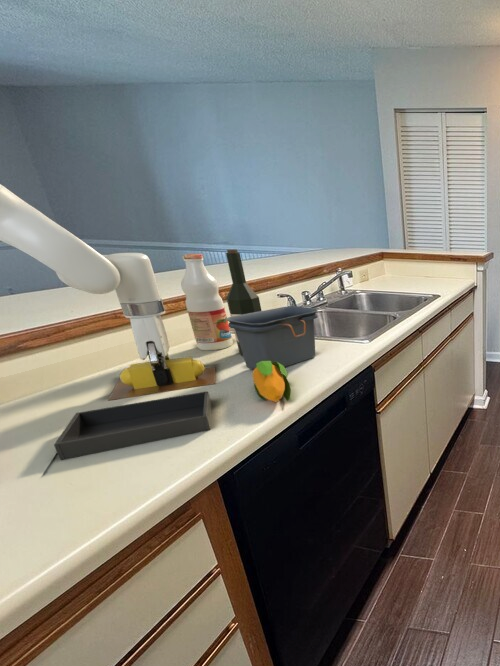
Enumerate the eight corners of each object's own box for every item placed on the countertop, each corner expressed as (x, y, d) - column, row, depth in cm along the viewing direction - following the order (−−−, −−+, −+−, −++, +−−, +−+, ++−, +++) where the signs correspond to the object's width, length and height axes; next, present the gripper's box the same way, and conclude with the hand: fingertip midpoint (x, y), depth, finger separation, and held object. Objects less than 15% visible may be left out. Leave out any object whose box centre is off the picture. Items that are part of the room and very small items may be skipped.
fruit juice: (198, 344, 135) (173, 253, 124) (233, 340, 139) (212, 252, 129) (197, 352, 127) (170, 256, 117) (233, 348, 132) (210, 255, 121)
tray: (61, 463, 72) (53, 444, 70) (83, 429, 83) (76, 412, 81) (211, 432, 83) (206, 416, 81) (212, 405, 94) (208, 391, 92)
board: (108, 401, 94) (107, 400, 94) (119, 381, 105) (119, 380, 105) (214, 384, 105) (214, 383, 104) (215, 368, 115) (215, 366, 115)
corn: (279, 351, 105) (291, 375, 90) (287, 379, 109) (300, 407, 93) (245, 358, 102) (252, 384, 86) (254, 386, 105) (263, 417, 90)
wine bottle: (242, 348, 131) (219, 248, 120) (272, 347, 134) (252, 248, 122) (235, 357, 124) (209, 251, 113) (267, 355, 126) (245, 250, 115)
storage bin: (297, 349, 132) (288, 304, 127) (335, 356, 127) (328, 309, 121) (232, 370, 114) (219, 318, 108) (273, 379, 108) (262, 325, 103)
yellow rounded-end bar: (122, 391, 99) (115, 371, 97) (125, 385, 102) (118, 365, 100) (206, 378, 107) (201, 360, 105) (207, 373, 111) (202, 355, 109)
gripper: (128, 303, 102) (151, 373, 109) (115, 317, 89) (142, 396, 96) (167, 300, 106) (187, 368, 113) (160, 314, 93) (183, 389, 100)
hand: (166, 380), depth 105 cm, fingers closed on yellow rounded-end bar, 4 cm apart
